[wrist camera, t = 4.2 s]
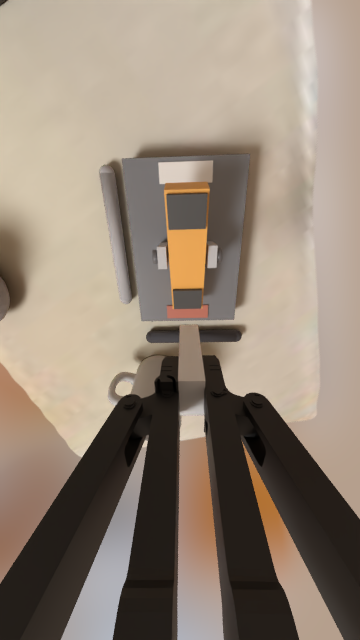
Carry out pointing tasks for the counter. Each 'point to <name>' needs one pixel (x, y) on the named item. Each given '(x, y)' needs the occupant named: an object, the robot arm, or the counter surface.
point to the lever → (187, 241)
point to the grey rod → (115, 231)
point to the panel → (151, 231)
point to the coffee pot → (3, 299)
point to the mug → (139, 380)
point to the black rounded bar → (203, 334)
